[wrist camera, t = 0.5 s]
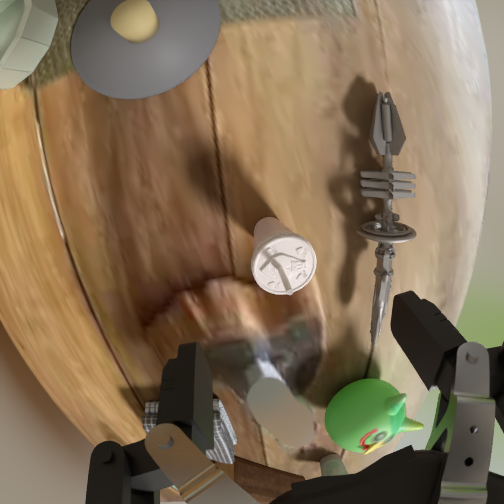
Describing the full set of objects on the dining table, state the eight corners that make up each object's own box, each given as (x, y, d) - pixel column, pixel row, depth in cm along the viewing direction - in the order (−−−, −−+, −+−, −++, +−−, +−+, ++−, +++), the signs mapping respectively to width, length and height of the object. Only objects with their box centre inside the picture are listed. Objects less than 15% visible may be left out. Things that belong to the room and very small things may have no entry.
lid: (99, -26, 20) (84, -43, 15) (236, -22, 24) (240, -42, 18) (61, 97, 27) (38, 95, 22) (200, 108, 30) (197, 105, 25)
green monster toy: (301, 395, 52) (321, 458, 39) (376, 346, 49) (412, 406, 36) (341, 422, 59) (360, 472, 46) (402, 382, 56) (430, 430, 43)
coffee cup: (346, 448, 67) (358, 482, 56) (339, 460, 71) (350, 491, 60) (317, 455, 66) (328, 490, 55) (312, 466, 70) (321, 498, 59)
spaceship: (347, 362, 38) (401, 362, 36) (352, 85, 27) (422, 89, 24) (348, 330, 45) (395, 331, 43) (349, 97, 34) (406, 99, 32)
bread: (272, 489, 76) (278, 523, 63) (194, 467, 63) (195, 512, 50) (306, 475, 73) (315, 511, 61) (232, 452, 60) (237, 502, 47)
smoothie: (240, 209, 36) (254, 262, 23) (292, 203, 36) (333, 250, 23) (245, 257, 38) (261, 326, 26) (294, 250, 39) (331, 314, 26)
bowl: (-4, 4, 17) (-30, -5, 10) (71, -16, 20) (48, -34, 13) (-29, 94, 22) (-59, 97, 16) (40, 86, 25) (9, 83, 19)
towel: (219, 390, 49) (222, 425, 42) (237, 437, 57) (241, 466, 50) (142, 397, 49) (136, 431, 41) (173, 442, 56) (172, 470, 49)
